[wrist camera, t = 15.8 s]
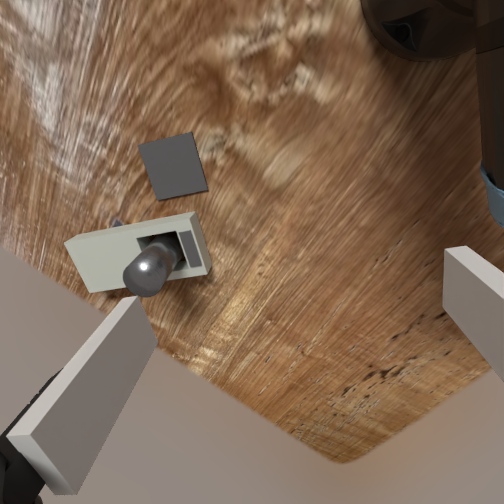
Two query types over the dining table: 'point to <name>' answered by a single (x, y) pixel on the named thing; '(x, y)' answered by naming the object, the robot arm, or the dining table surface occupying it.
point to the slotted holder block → (136, 250)
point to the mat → (173, 166)
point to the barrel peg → (153, 265)
